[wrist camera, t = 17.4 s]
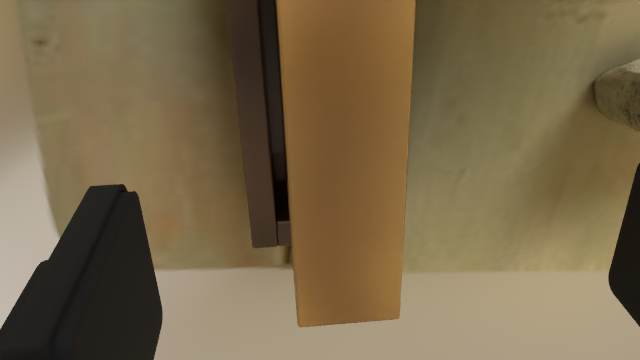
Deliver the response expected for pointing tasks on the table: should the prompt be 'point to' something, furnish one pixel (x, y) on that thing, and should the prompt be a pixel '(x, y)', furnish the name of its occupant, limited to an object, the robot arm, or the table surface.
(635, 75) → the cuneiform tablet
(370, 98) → the frame
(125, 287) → the robot arm
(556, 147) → the table surface
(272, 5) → the holder
